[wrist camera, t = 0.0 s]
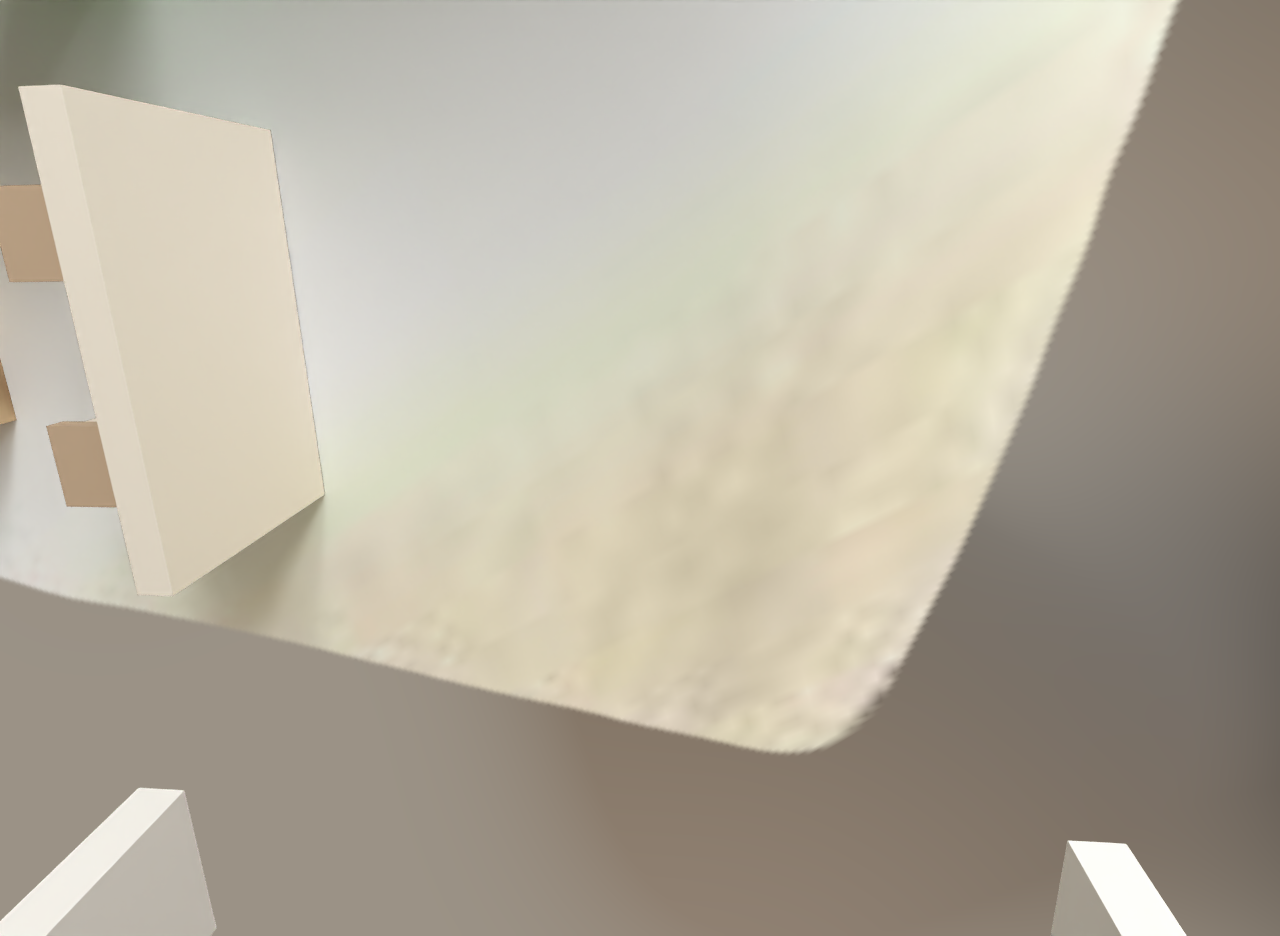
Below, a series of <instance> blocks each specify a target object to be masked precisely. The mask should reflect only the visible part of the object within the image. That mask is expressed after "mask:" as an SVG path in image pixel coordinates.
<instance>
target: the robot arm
mask: <svg viewBox="0 0 1280 936" xmlns="http://www.w3.org/2000/svg"><path fill="white" fill-rule="evenodd" d="M216 928H217V927H216V923H215V919H214V915H213V910H212V906H211V902H210V898H209V893H208V889H207V885H206V880H205V876H204V872H203V868H202V863H201V859H200V855H199V851H198V846H197V842H196V838H195V834H194V829H193V825H192V821H191V817H190V812H189V808H188V804H187V800H186V795H185V791H184V790H169V789H151V788H138V789H137V790H136V791H135V792H134V793H133V794H132V795H131V796H130V797H129V798H128V799H127V800H126V801H125V802H124V803H123V804H121V806H119V807H118V808H117V809H116V810H115V811H114V812H113V813H112V814H111V815H110V816H109V817H108V818H107V819H106V820H105V821H104V822H103V823H102V824H101V825H100V826H99V827H98V828H96V829H95V830H94V831H93V832H92V833H91V834H90V835H89V836H88V837H87V838H86V839H85V840H84V841H83V842H82V843H81V844H80V845H79V846H78V847H77V848H76V849H75V850H74V851H73V852H72V853H71V854H69V855H68V856H67V858H66V859H64V860H63V861H62V862H61V863H60V864H59V865H58V866H57V867H56V868H55V869H54V870H53V871H52V872H51V873H50V874H49V875H48V876H47V877H46V878H45V879H43V880H42V881H41V882H40V883H39V884H38V885H37V886H36V887H35V888H34V889H33V890H32V891H31V892H30V893H29V894H28V895H27V896H26V897H25V898H24V899H23V900H22V901H21V902H20V903H19V904H18V905H16V906H15V908H13V909H12V910H11V911H10V912H9V913H8V914H7V915H6V916H5V917H4V918H3V919H2V920H1V921H0V936H211V935H212V933H213V932H214V931H215V929H216ZM1051 936H1186V934H1185V933H1184V931H1183V930H1182V928H1181V927H1180V925H1179V924H1178V922H1177V921H1176V919H1175V917H1174V916H1173V914H1172V913H1171V911H1170V910H1169V908H1168V907H1167V905H1166V904H1165V902H1164V901H1163V899H1162V898H1161V896H1160V895H1159V893H1158V892H1157V890H1156V889H1155V887H1154V886H1153V884H1152V883H1151V881H1150V880H1149V878H1148V877H1147V875H1146V873H1145V872H1144V870H1143V869H1142V868H1141V866H1140V864H1139V863H1138V861H1137V860H1136V858H1135V857H1134V855H1133V854H1132V852H1131V851H1130V849H1129V848H1128V846H1127V845H1126V844H1118V843H1101V842H1084V841H1068V842H1067V847H1066V853H1065V858H1064V864H1063V870H1062V876H1061V881H1060V886H1059V892H1058V898H1057V903H1056V909H1055V914H1054V920H1053V926H1052V931H1051Z"/></svg>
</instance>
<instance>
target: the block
mask: <svg viewBox="0 0 1280 936" xmlns="http://www.w3.org/2000/svg"><path fill="white" fill-rule="evenodd" d="M15 420H16V416H15V412H14V408H13V405H12V401H11V397H10V393H9V390H8V386H7V382H6V378H5V375H4V371H3V367H2V363H1V360H0V425H1V424H4V423H8V422H12V421H15Z"/></svg>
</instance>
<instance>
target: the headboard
mask: <svg viewBox="0 0 1280 936" xmlns="http://www.w3.org/2000/svg"><path fill="white" fill-rule="evenodd" d="M18 88H19V92H20V97H21V101H22V105H23V109H24V114H25V118H26V122H27V127H28V131H29V135H30V139H31V144H32V148H33V152H34V156H35V161H36V165H37V169H38V173H39V178H40V182H41V185H9V186H0V247H1V251H2V254H3V258H4V262H5V266H6V270H7V274H8V278H9V282H47V281H64V284H65V288H66V293H67V297H68V301H69V305H70V310H71V314H72V318H73V322H74V327H75V331H76V335H77V339H78V344H79V348H80V352H81V356H82V361H83V365H84V369H85V373H86V378H87V382H88V386H89V390H90V395H91V399H92V403H93V407H94V412H95V416H96V418H94V419H91V420H87V421H84V422H70V421H63V422H59V423H56V424H52V425H49V426H46V427H47V431H48V435H49V438H50V442H51V446H52V450H53V454H54V458H55V462H56V466H57V470H58V474H59V478H60V482H61V485H62V489H63V493H64V497H65V501H66V505H67V506H70V507H117V510H118V514H119V518H120V522H121V527H122V531H123V535H124V539H125V544H126V548H127V552H128V556H129V561H130V565H131V569H132V573H133V578H134V582H135V586H136V590H137V595H152V596H174V595H176V594H177V593H179V592H180V591H182V590H183V589H185V588H186V587H188V586H189V585H191V584H192V583H194V582H195V581H197V580H198V579H200V578H201V577H203V576H204V575H206V574H207V573H209V572H210V571H212V570H213V569H215V568H216V567H218V566H219V565H221V564H222V563H224V562H225V561H227V560H228V559H229V558H231V557H232V556H234V555H235V554H237V553H238V552H240V551H241V550H243V549H244V548H246V547H247V546H249V545H250V544H252V543H253V542H255V541H256V540H258V539H259V538H261V537H262V536H264V535H265V534H267V533H268V532H270V531H271V530H273V529H274V528H276V527H277V526H279V525H280V524H282V523H283V522H285V521H286V520H287V519H289V518H290V517H292V516H293V515H295V514H296V513H298V512H299V511H301V510H302V509H304V508H305V507H307V506H308V505H310V504H311V503H313V502H314V501H316V500H317V499H319V498H320V497H322V496H323V495H325V492H324V486H323V479H322V472H321V466H320V459H319V452H318V445H317V439H316V432H315V425H314V419H313V412H312V405H311V399H310V392H309V385H308V378H307V372H306V365H305V358H304V352H303V345H302V338H301V331H300V325H299V318H298V311H297V305H296V298H295V291H294V285H293V278H292V271H291V264H290V258H289V251H288V244H287V238H286V231H285V224H284V217H283V211H282V204H281V197H280V191H279V184H278V177H277V171H276V164H275V157H274V150H273V144H272V137H271V130H268V129H263V128H259V127H254V126H249V125H245V124H240V123H236V122H231V121H226V120H222V119H217V118H213V117H208V116H203V115H199V114H194V113H190V112H185V111H180V110H176V109H171V108H167V107H162V106H158V105H153V104H148V103H144V102H139V101H135V100H130V99H125V98H121V97H116V96H112V95H107V94H102V93H98V92H93V91H89V90H84V89H80V88H75V87H70V86H66V85H61V84H60V85H37V86H18Z"/></svg>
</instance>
